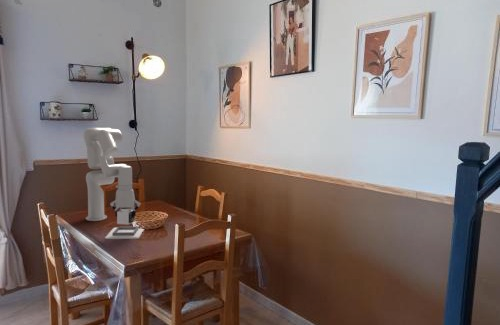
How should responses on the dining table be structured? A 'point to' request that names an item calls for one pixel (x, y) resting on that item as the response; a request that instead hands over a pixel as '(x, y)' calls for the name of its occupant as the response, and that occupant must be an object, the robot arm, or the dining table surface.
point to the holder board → (125, 233)
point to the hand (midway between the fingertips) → (125, 217)
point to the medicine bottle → (125, 216)
